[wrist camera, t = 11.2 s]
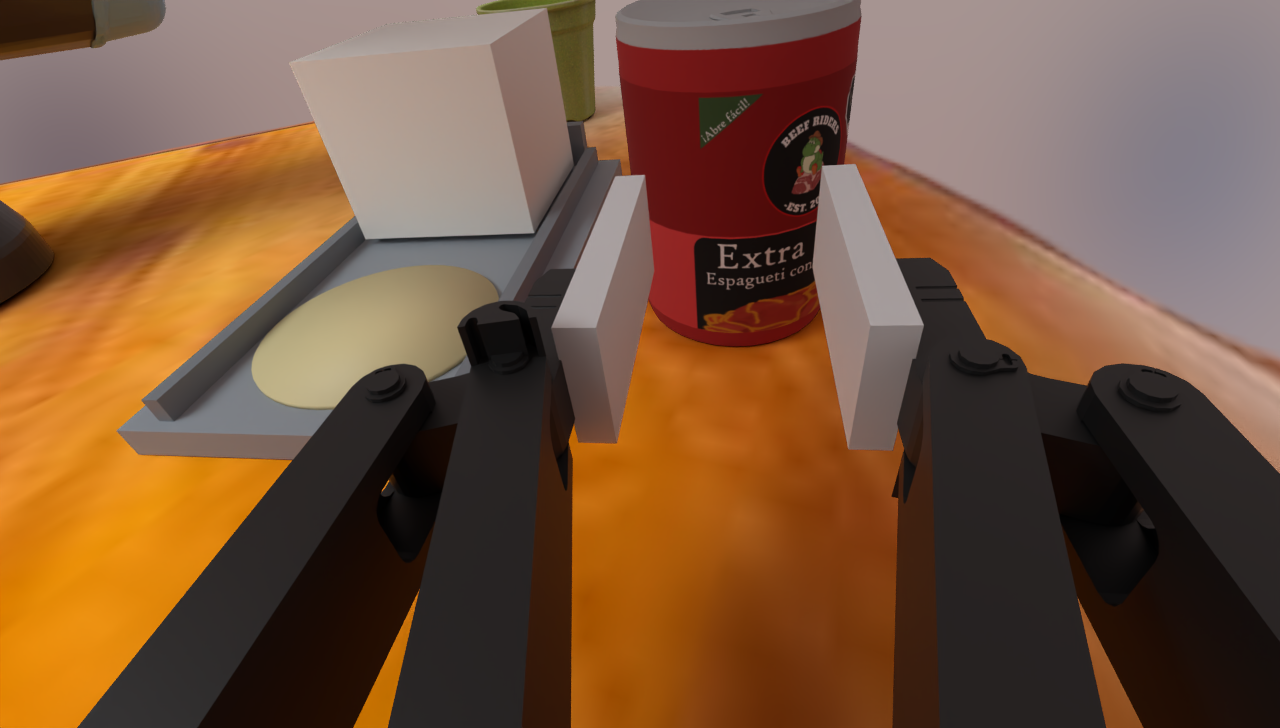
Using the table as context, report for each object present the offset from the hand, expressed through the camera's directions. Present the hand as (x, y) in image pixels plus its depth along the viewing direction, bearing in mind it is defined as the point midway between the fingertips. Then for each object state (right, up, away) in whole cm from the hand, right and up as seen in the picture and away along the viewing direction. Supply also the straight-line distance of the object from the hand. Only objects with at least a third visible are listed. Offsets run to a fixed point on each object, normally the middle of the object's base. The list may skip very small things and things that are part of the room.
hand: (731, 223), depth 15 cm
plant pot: (-9, +17, +35) cm, 40 cm away
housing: (-11, +6, +18) cm, 22 cm away
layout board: (-12, +1, +14) cm, 18 cm away
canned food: (+2, -1, +10) cm, 11 cm away
